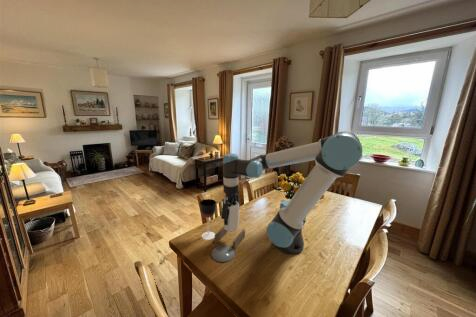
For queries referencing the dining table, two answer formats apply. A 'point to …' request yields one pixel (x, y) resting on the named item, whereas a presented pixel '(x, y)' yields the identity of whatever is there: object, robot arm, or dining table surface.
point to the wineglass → (208, 215)
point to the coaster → (222, 253)
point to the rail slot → (235, 242)
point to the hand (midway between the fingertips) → (231, 224)
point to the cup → (233, 217)
